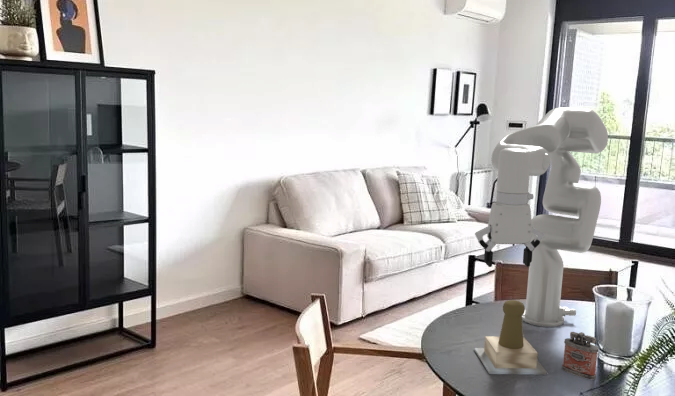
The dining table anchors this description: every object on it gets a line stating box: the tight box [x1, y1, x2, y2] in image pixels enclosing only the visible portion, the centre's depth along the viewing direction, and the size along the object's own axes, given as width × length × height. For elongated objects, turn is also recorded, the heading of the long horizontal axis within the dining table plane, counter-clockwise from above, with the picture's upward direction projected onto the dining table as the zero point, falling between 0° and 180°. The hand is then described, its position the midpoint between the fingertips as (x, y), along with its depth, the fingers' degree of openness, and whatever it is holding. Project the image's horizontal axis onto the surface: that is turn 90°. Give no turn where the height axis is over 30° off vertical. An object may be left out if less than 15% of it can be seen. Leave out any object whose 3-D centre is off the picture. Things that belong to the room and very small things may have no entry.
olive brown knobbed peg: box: [498, 299, 526, 349], centre depth 155 cm, size 6×6×11 cm
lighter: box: [561, 331, 599, 381], centre depth 151 cm, size 8×3×10 cm, turn 44°
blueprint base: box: [473, 335, 548, 376], centre depth 157 cm, size 14×14×5 cm
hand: (507, 265), depth 159 cm, fingers open, 9 cm apart
